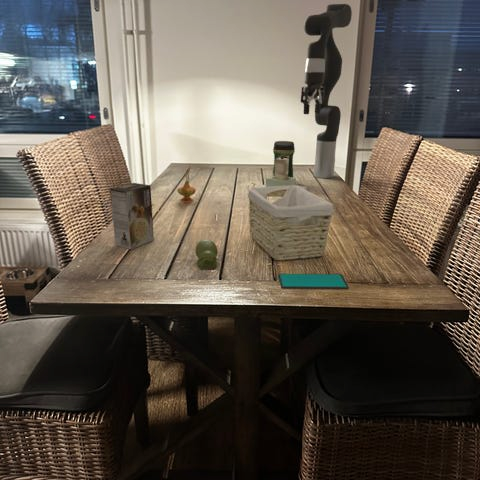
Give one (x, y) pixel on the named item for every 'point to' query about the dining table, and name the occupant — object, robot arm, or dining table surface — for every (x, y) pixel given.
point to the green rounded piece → (206, 254)
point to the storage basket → (289, 221)
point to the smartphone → (312, 281)
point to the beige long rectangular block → (281, 168)
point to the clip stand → (280, 182)
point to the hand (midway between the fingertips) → (311, 113)
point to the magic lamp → (186, 190)
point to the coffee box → (132, 215)
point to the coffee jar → (286, 150)
